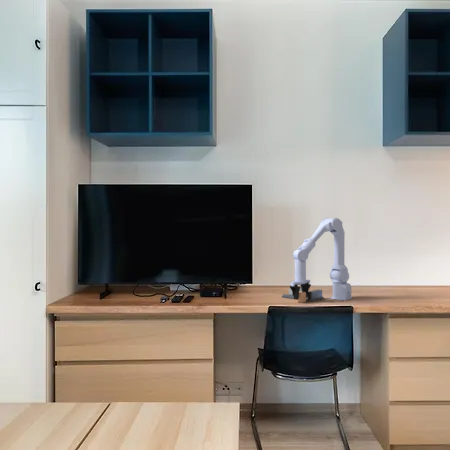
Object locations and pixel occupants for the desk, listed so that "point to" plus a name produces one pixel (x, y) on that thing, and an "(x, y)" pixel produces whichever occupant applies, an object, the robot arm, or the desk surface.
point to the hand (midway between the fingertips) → (300, 298)
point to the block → (301, 297)
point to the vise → (308, 295)
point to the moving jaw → (291, 291)
